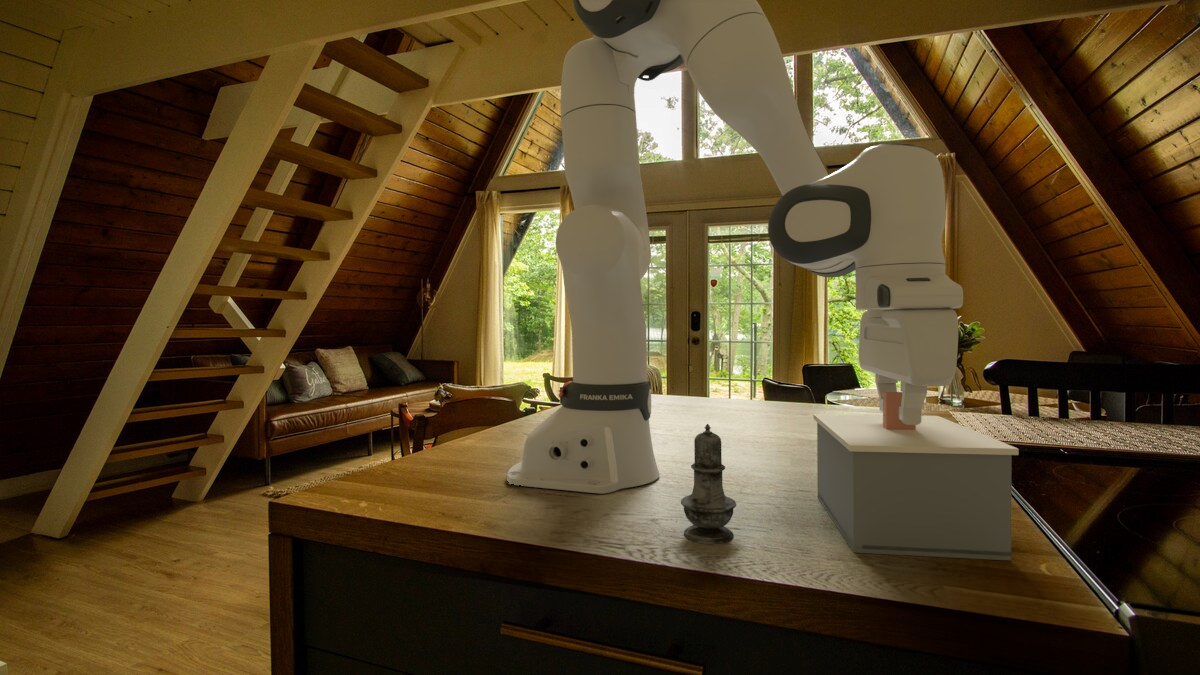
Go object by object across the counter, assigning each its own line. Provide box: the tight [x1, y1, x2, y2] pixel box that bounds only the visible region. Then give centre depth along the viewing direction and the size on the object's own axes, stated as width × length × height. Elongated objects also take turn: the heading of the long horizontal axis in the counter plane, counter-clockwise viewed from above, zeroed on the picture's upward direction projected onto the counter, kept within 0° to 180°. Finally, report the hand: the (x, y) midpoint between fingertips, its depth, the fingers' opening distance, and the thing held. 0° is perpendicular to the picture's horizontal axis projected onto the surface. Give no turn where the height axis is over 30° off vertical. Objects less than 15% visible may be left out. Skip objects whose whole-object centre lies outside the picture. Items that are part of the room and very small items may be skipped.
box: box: [816, 422, 1013, 561], centre depth 65 cm, size 14×18×10 cm
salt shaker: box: [680, 423, 737, 545], centre depth 62 cm, size 6×6×12 cm
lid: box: [812, 391, 1020, 456], centre depth 64 cm, size 15×19×5 cm
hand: (899, 418), depth 64 cm, fingers open, 5 cm apart
